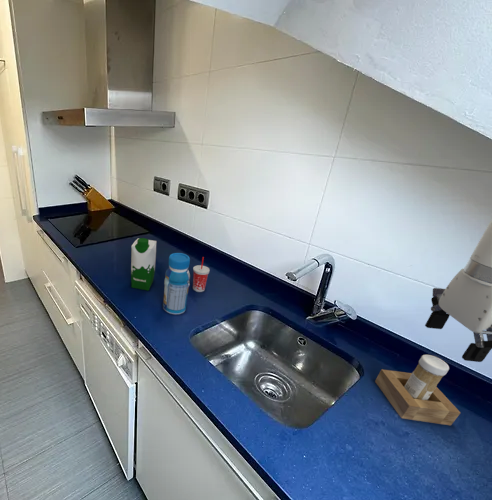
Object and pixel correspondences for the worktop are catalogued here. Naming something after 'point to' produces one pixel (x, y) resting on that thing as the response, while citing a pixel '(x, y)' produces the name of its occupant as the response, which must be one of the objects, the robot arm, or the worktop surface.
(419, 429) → the worktop surface
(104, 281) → the worktop surface
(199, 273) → the beverage cup
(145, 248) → the milk carton
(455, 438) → the worktop surface
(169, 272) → the beverage bottle
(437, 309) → the robot arm
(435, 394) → the frame
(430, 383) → the sprinkles bottle
